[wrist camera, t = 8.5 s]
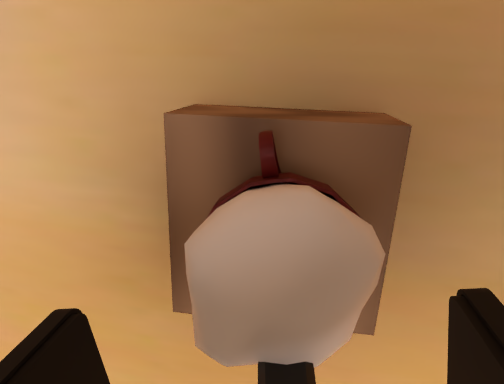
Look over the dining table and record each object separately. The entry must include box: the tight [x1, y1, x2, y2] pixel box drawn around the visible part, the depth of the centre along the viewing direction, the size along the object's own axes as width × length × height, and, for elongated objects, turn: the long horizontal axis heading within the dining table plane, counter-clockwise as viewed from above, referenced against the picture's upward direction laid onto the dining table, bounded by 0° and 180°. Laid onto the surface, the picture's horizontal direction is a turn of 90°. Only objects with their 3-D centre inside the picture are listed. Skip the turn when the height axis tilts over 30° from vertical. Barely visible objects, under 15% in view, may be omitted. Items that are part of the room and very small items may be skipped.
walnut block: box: [164, 104, 412, 335], centre depth 18 cm, size 10×10×5 cm
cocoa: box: [184, 131, 385, 384], centre depth 10 cm, size 10×6×12 cm, turn 165°
